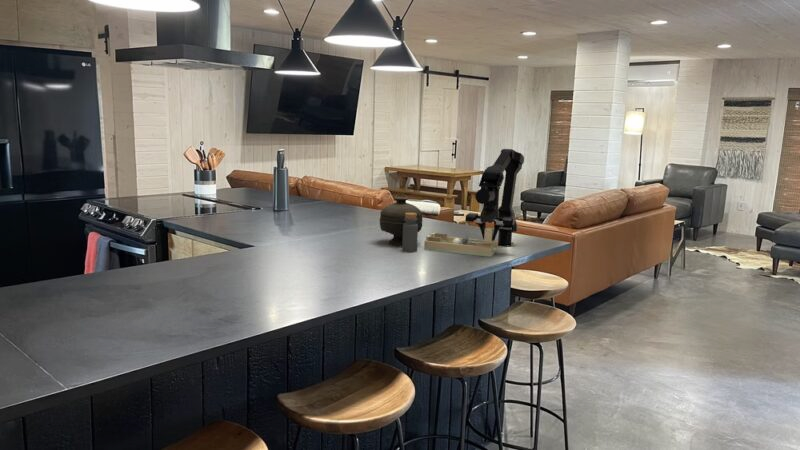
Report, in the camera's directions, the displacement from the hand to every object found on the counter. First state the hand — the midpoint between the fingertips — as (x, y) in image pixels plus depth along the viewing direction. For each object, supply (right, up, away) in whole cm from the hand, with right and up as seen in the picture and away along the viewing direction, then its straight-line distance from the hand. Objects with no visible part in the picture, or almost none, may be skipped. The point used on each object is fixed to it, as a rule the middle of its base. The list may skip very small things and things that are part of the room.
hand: (488, 240), depth 231 cm
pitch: (-11, -4, +5) cm, 12 cm away
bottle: (-32, -4, -1) cm, 32 cm away
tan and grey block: (-4, -3, +2) cm, 6 cm away
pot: (-35, -2, +12) cm, 37 cm away
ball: (-12, -1, +5) cm, 13 cm away
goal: (-20, -2, +8) cm, 22 cm away
